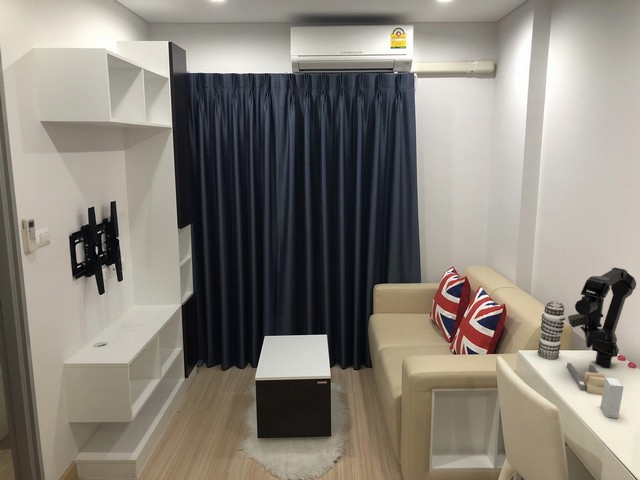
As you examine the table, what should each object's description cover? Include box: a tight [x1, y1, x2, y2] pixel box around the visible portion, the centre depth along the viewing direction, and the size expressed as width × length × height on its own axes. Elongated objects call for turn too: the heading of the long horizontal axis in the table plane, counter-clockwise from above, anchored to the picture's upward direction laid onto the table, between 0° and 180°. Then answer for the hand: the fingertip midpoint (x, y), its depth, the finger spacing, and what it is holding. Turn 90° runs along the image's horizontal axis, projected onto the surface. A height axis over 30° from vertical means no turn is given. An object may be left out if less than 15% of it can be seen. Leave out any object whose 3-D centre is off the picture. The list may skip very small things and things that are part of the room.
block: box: [583, 371, 606, 395], centre depth 198 cm, size 5×6×6 cm
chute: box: [566, 362, 599, 392], centre depth 207 cm, size 20×12×3 cm, turn 169°
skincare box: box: [600, 377, 625, 419], centre depth 184 cm, size 6×4×12 cm
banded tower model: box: [537, 300, 566, 360], centre depth 225 cm, size 9×9×25 cm
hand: (588, 347), depth 208 cm, fingers closed
